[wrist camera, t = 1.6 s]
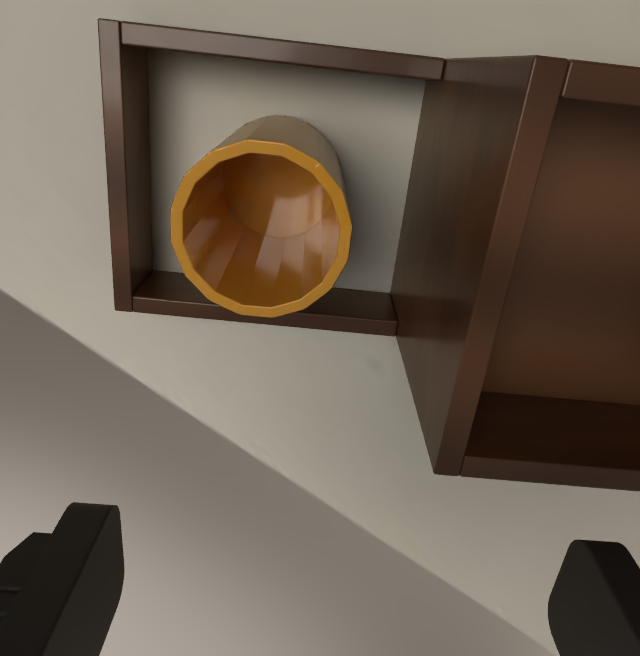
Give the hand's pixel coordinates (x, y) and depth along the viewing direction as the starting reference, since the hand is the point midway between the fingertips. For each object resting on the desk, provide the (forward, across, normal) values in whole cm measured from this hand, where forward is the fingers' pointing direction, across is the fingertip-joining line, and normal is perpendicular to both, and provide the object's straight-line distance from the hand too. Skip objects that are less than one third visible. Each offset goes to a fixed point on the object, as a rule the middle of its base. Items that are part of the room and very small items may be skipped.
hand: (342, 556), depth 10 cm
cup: (+19, +3, -3) cm, 20 cm away
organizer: (+19, -2, -3) cm, 20 cm away
